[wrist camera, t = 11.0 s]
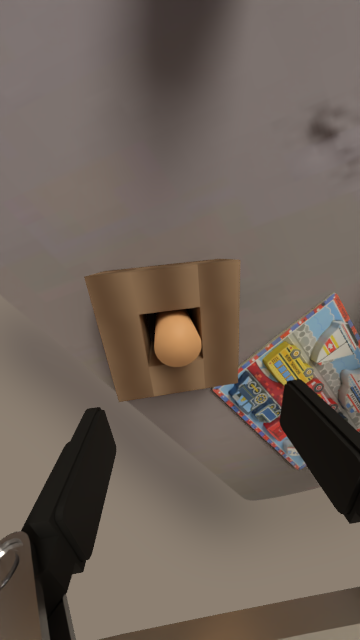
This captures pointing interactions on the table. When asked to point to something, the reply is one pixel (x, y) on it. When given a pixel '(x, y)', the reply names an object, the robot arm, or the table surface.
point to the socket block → (165, 295)
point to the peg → (176, 338)
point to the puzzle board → (300, 373)
